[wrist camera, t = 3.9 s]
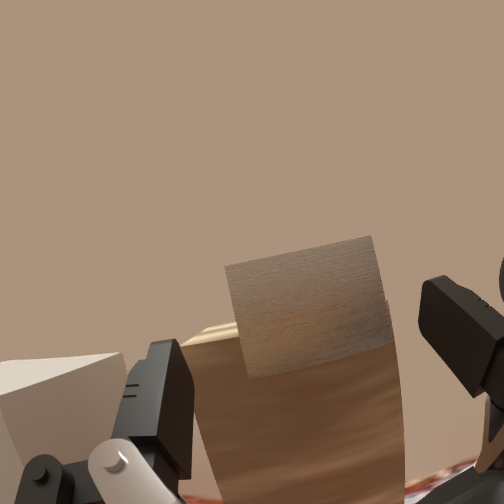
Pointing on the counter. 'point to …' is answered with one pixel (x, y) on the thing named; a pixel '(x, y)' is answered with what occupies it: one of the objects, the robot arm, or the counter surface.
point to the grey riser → (56, 410)
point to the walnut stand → (299, 425)
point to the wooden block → (308, 306)
